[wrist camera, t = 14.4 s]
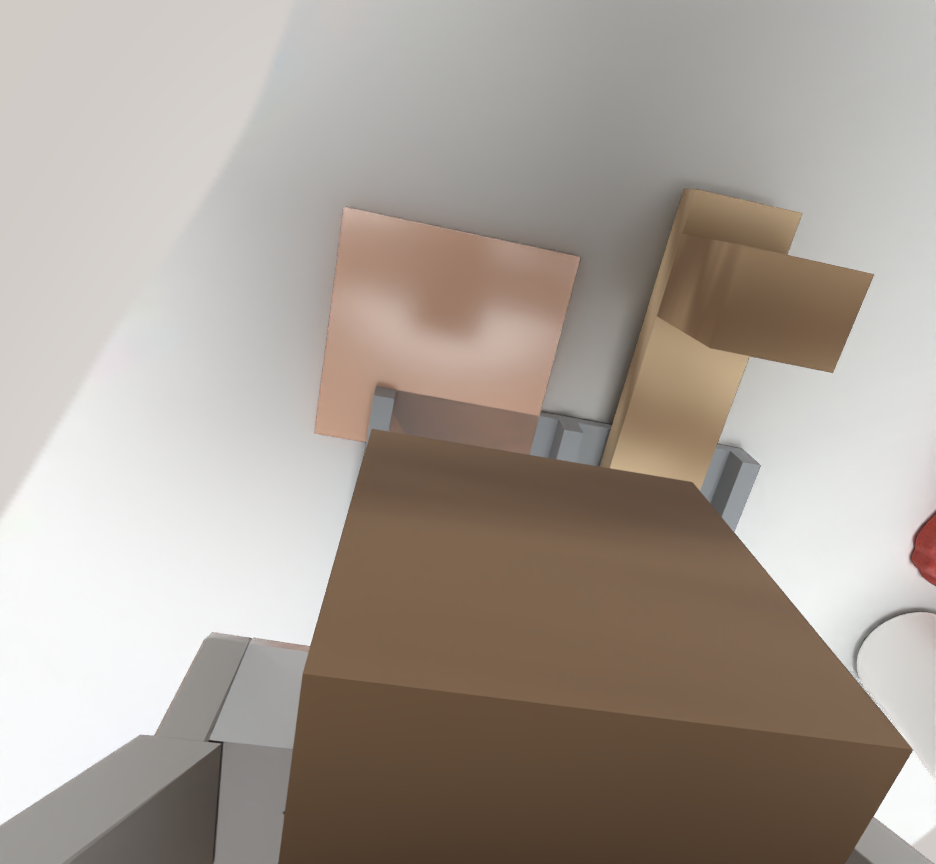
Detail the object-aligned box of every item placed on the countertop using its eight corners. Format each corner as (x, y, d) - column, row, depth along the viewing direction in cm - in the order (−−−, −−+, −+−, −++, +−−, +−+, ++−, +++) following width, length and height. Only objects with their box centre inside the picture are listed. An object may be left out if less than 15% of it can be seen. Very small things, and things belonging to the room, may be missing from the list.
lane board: (377, 382, 26) (355, 454, 19) (741, 448, 28) (843, 537, 21) (319, 744, 33) (286, 896, 26) (614, 779, 35) (658, 930, 28)
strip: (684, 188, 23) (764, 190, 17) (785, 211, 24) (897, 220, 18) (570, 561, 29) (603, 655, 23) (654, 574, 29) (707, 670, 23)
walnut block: (371, 428, 8) (303, 672, 4) (692, 482, 9) (914, 750, 5) (321, 760, 11) (241, 1140, 6) (582, 789, 11) (667, 1160, 7)
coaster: (346, 206, 24) (343, 207, 23) (577, 255, 25) (580, 257, 24) (316, 428, 27) (314, 433, 26) (523, 464, 28) (525, 470, 27)
